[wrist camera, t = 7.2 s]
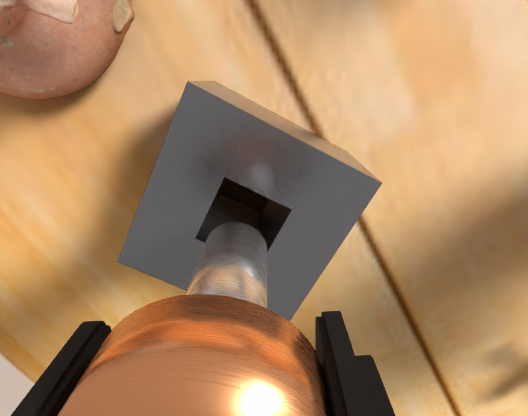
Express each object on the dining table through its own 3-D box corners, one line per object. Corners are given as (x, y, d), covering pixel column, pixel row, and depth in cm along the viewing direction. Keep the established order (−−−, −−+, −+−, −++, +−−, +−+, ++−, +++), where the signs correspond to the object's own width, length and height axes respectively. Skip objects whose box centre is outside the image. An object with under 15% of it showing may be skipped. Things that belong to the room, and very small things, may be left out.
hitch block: (346, 151, 27) (382, 182, 18) (279, 262, 31) (283, 330, 22) (214, 81, 25) (187, 81, 17) (160, 209, 29) (117, 261, 21)
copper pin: (321, 225, 16) (407, 451, 6) (263, 318, 18) (259, 595, 8) (202, 168, 15) (83, 331, 5) (155, 273, 17) (8, 529, 7)
